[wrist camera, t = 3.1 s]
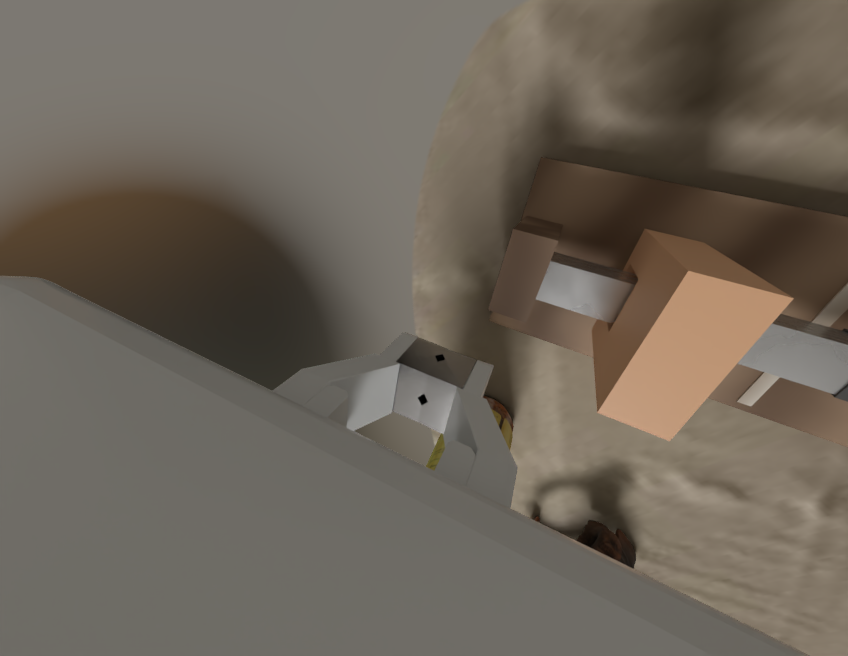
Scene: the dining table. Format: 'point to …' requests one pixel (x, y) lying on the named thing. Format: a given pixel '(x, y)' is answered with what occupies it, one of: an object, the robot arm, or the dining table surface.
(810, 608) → the dining table surface
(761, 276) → the rod stand
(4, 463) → the robot arm
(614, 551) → the broken clay pot
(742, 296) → the collar
